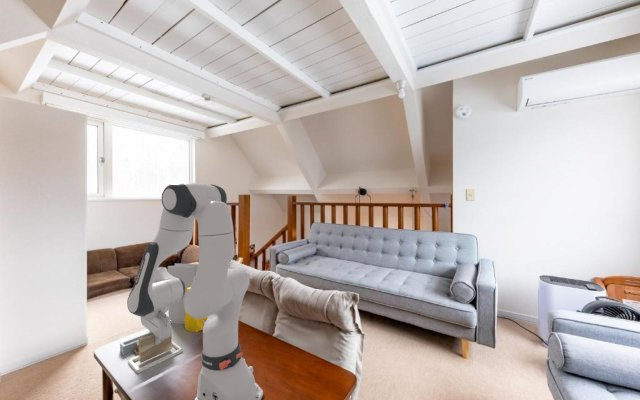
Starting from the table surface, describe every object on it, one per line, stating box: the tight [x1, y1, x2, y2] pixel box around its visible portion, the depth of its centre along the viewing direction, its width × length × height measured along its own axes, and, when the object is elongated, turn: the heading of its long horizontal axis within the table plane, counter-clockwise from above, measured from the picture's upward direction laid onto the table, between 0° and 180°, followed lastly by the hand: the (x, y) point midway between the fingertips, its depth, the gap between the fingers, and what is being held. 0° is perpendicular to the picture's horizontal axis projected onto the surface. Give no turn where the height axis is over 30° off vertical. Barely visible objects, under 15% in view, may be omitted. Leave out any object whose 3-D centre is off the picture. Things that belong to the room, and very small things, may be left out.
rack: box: [119, 331, 150, 361], centre depth 107 cm, size 12×15×4 cm
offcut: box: [133, 348, 139, 356], centre depth 106 cm, size 5×9×1 cm, turn 143°
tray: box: [127, 340, 184, 374], centre depth 101 cm, size 10×16×2 cm, turn 143°
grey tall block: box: [167, 263, 198, 325], centre depth 130 cm, size 14×6×30 cm, turn 84°
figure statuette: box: [184, 287, 208, 333], centre depth 122 cm, size 18×8×22 cm, turn 71°
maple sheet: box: [138, 327, 173, 364], centre depth 101 cm, size 2×11×9 cm, turn 143°
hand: (155, 342), depth 101 cm, fingers closed on maple sheet, 2 cm apart
